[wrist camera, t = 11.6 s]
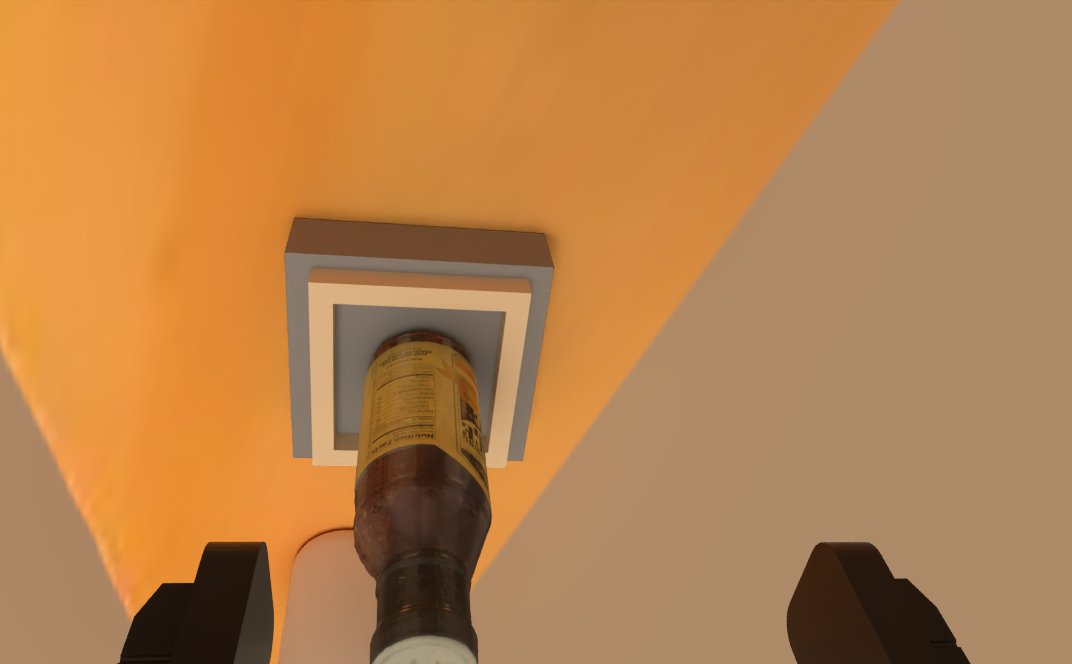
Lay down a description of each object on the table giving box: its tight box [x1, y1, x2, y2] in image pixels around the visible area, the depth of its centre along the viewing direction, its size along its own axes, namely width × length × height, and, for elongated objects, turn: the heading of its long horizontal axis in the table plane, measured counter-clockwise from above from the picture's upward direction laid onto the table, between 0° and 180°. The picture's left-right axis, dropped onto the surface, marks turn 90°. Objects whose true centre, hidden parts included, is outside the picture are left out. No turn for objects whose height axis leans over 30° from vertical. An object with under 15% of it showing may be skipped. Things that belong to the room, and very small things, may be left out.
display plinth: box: [285, 218, 554, 468], centre depth 48 cm, size 14×14×6 cm
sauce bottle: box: [353, 332, 492, 664], centre depth 39 cm, size 6×6×20 cm
